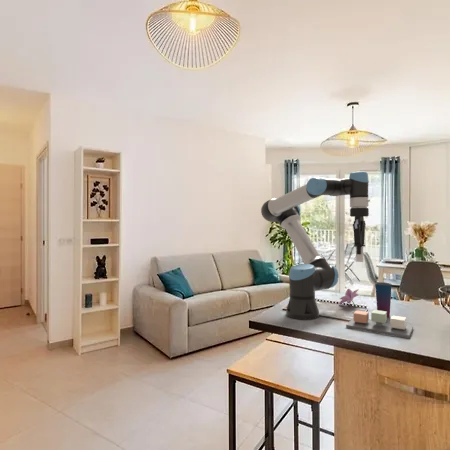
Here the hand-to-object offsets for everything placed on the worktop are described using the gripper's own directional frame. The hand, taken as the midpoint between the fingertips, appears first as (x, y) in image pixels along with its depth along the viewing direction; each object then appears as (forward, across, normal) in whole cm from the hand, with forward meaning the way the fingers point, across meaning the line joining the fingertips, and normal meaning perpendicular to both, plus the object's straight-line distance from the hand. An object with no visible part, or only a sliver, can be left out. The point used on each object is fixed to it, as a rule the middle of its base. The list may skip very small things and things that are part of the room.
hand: (359, 261), depth 143 cm
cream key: (+25, -5, -15) cm, 29 cm away
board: (+26, -5, -8) cm, 28 cm away
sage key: (+23, -5, -8) cm, 25 cm away
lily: (+27, +24, +11) cm, 37 cm away
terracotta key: (+25, -5, -2) cm, 25 cm away
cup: (+27, +14, -7) cm, 31 cm away
